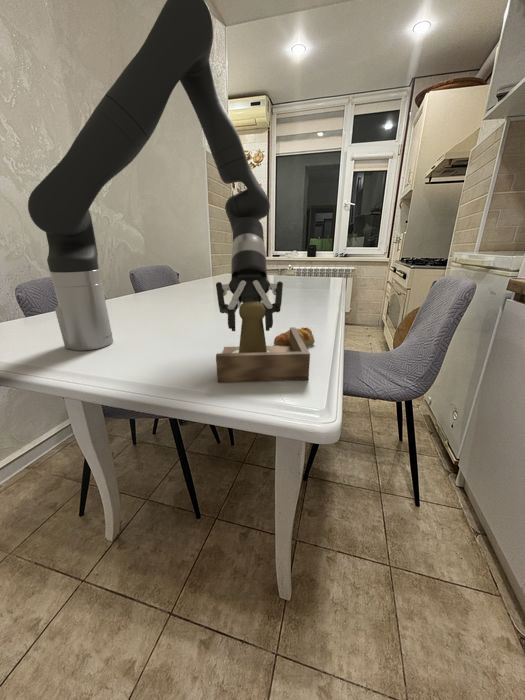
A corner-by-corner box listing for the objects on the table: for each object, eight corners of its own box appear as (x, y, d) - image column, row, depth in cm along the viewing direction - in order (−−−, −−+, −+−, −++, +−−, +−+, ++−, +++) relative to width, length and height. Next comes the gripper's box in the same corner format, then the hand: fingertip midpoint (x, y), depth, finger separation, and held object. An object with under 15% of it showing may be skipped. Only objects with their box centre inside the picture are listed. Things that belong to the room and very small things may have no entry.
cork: (268, 350, 63) (268, 299, 59) (266, 360, 57) (266, 305, 53) (240, 349, 63) (239, 299, 59) (236, 359, 58) (233, 305, 54)
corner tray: (217, 382, 51) (215, 356, 49) (224, 350, 65) (223, 328, 64) (308, 380, 51) (310, 353, 49) (294, 348, 66) (295, 327, 64)
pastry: (282, 352, 65) (282, 336, 63) (268, 343, 70) (268, 328, 69) (316, 345, 68) (317, 330, 67) (301, 338, 74) (301, 323, 73)
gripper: (213, 248, 59) (210, 320, 52) (283, 248, 60) (290, 318, 53) (217, 272, 66) (215, 338, 59) (280, 272, 67) (285, 337, 60)
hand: (250, 329), depth 56 cm, fingers open, 6 cm apart
